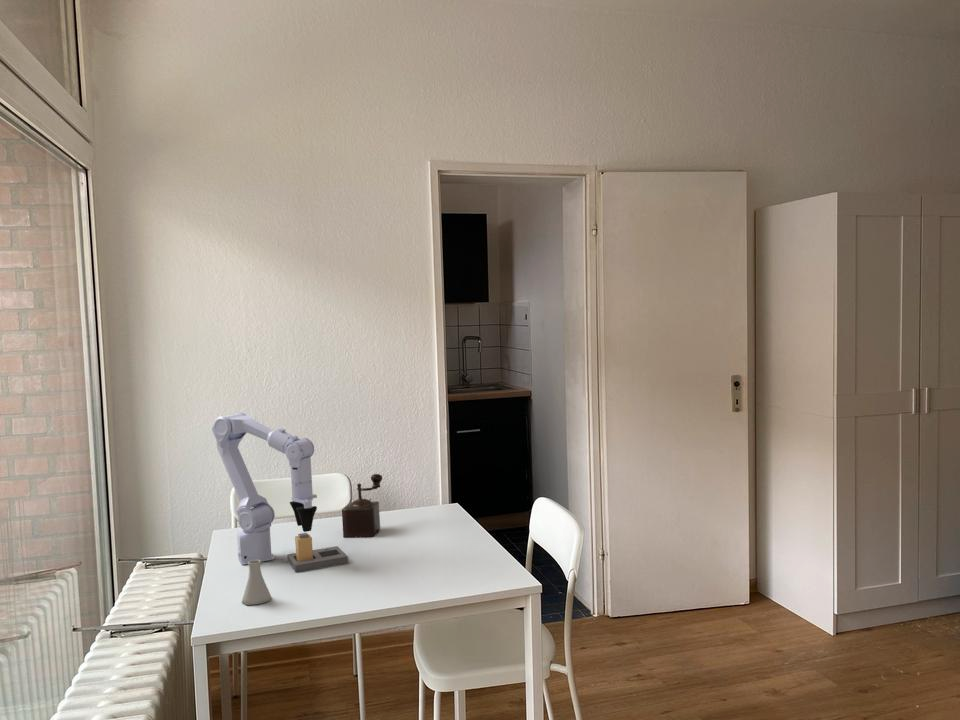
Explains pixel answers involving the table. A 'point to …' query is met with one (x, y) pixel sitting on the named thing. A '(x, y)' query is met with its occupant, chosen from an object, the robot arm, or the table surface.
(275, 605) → the table surface
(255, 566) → the flask
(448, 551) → the table surface
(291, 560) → the socket block
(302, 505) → the robot arm
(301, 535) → the plug
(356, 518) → the manual coffee grinder
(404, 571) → the table surface
